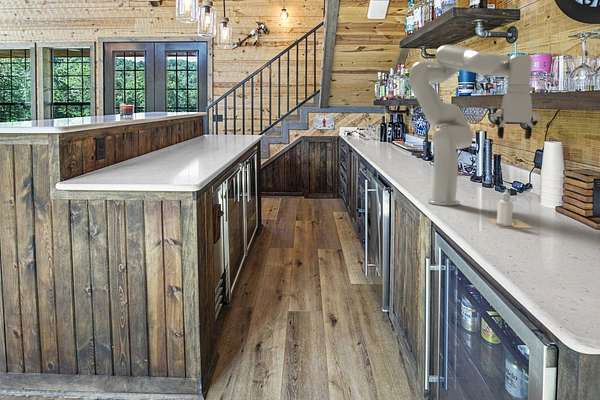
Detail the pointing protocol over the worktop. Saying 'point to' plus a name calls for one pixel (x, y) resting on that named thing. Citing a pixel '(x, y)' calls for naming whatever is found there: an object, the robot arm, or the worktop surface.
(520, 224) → the card
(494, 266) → the worktop surface
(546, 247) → the worktop surface
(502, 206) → the eye dropper bottle
